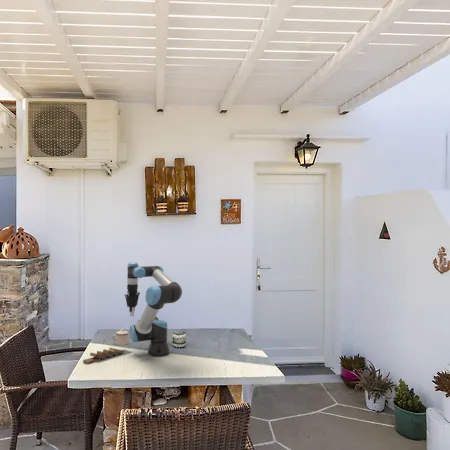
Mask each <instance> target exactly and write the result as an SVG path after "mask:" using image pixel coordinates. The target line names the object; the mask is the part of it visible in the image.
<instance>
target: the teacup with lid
mask: <svg viewBox="0 0 450 450" xmlns="http://www.w3.org/2000/svg"><path fill="white" fill-rule="evenodd" d="M114 336H115V337H116V338H115V337H114ZM112 340H113V342H115V344H116V345H117V346H126V345H128V344H129V331H127V330H124V328H121V329H120V330H118V331H116V333H115V334H113V335H112Z"/></svg>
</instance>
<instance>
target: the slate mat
mask: <svg viewBox="0 0 450 450" xmlns="http://www.w3.org/2000/svg"><path fill="white" fill-rule="evenodd" d="M122 350H123V351H125V352H124V353H119V355H114V354H113V357H109V356H107V357H106V359H104V358H101V361H98V362H96V363H97V364H99V363H102V362H105V361H109V360H112V359H116V358H120V357H123V356H126V355H129V354H132V353H134V352H133V351H131V350H128V349H122Z"/></svg>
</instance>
